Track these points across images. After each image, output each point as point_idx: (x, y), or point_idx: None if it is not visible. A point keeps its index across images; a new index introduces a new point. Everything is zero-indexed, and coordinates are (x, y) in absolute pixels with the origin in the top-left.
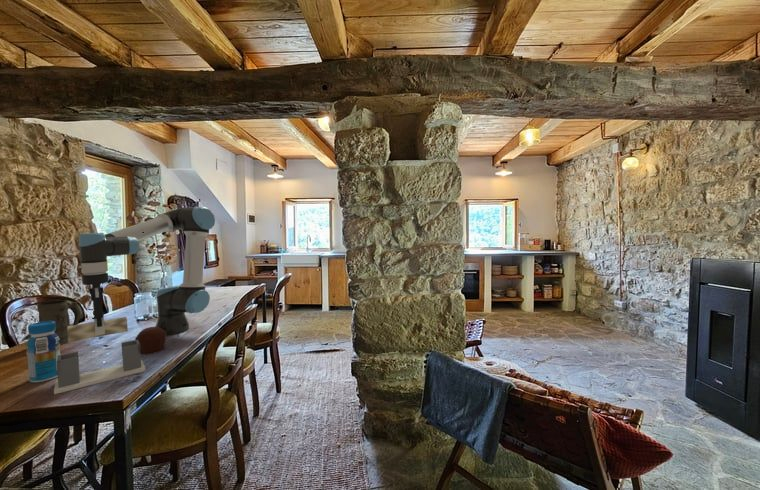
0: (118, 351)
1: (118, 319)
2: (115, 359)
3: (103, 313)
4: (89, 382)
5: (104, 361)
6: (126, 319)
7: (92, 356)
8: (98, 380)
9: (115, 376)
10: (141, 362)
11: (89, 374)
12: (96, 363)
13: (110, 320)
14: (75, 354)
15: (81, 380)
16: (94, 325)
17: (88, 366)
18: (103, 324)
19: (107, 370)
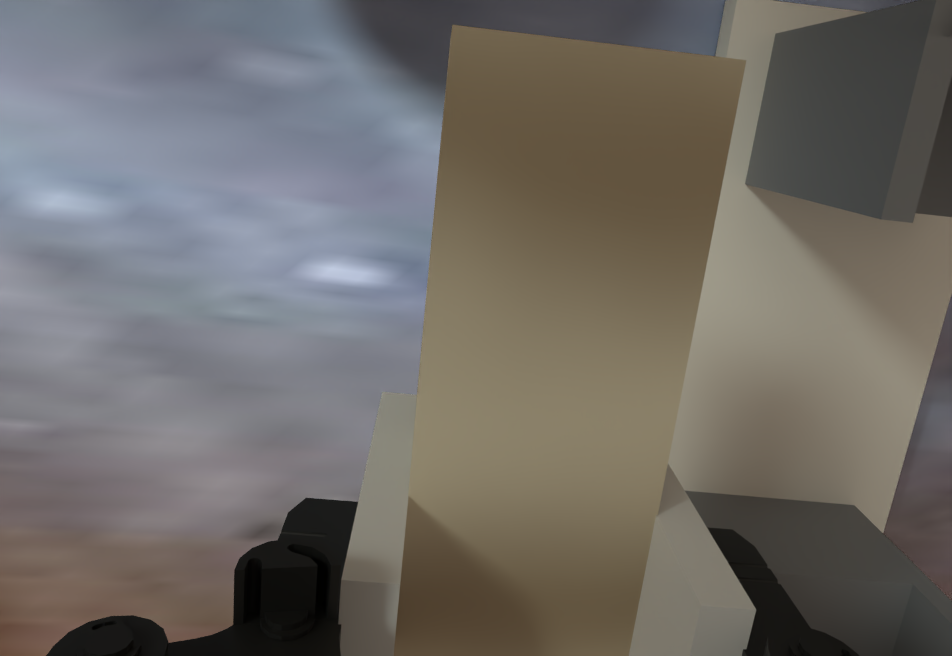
0: (67, 105)
1: (604, 232)
2: (360, 182)
3: (334, 586)
4: (903, 448)
5: (336, 272)
6: (737, 71)
7: (53, 334)
8: (915, 392)
9: (949, 279)
10: (823, 20)
11: (717, 432)
12: (339, 334)
13: (541, 386)
14: None
15: (815, 490)
16: (626, 643)
17: (374, 395)
18: (693, 515)
19: (755, 311)
